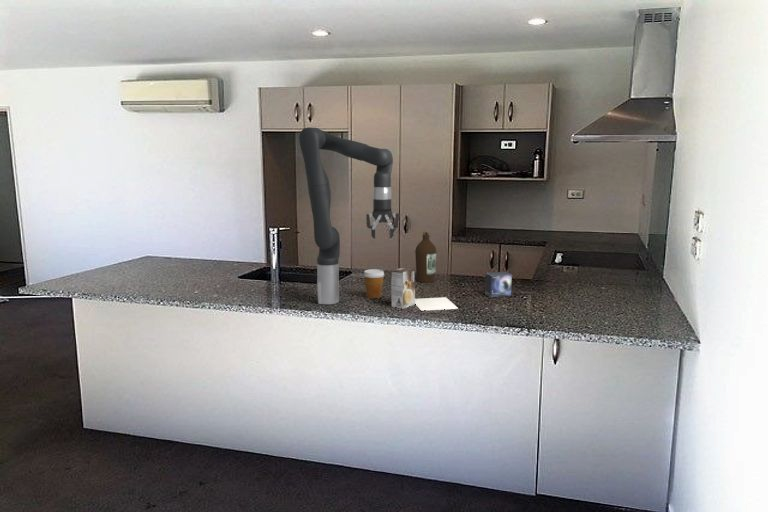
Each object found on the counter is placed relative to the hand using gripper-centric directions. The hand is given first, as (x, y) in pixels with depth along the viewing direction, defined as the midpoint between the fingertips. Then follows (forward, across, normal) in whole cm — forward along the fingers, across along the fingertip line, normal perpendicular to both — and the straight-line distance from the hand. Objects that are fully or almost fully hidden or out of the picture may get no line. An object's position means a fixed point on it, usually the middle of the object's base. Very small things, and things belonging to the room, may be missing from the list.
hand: (382, 237), depth 243 cm
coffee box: (+30, +9, 0) cm, 31 cm away
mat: (+30, +23, 0) cm, 37 cm away
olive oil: (+30, +30, +45) cm, 62 cm away
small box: (+30, +55, +9) cm, 63 cm away
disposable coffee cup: (+30, -1, +17) cm, 34 cm away
